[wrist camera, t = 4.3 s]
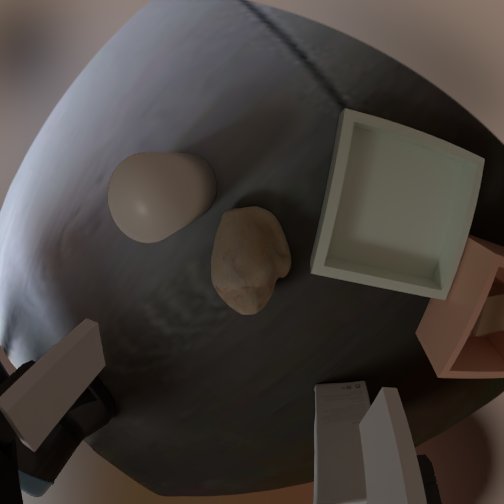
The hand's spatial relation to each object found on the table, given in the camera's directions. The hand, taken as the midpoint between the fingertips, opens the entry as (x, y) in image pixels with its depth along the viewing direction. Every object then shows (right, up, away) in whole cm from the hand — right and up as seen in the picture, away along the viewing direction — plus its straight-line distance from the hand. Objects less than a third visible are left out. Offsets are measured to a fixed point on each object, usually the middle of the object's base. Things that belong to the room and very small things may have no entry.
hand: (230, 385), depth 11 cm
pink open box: (+24, +2, +11) cm, 26 cm away
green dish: (+13, +10, +10) cm, 19 cm away
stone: (+1, +6, +14) cm, 15 cm away
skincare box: (+11, -12, +18) cm, 24 cm away
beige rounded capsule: (-5, +11, +13) cm, 18 cm away
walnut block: (+24, +1, +10) cm, 26 cm away
